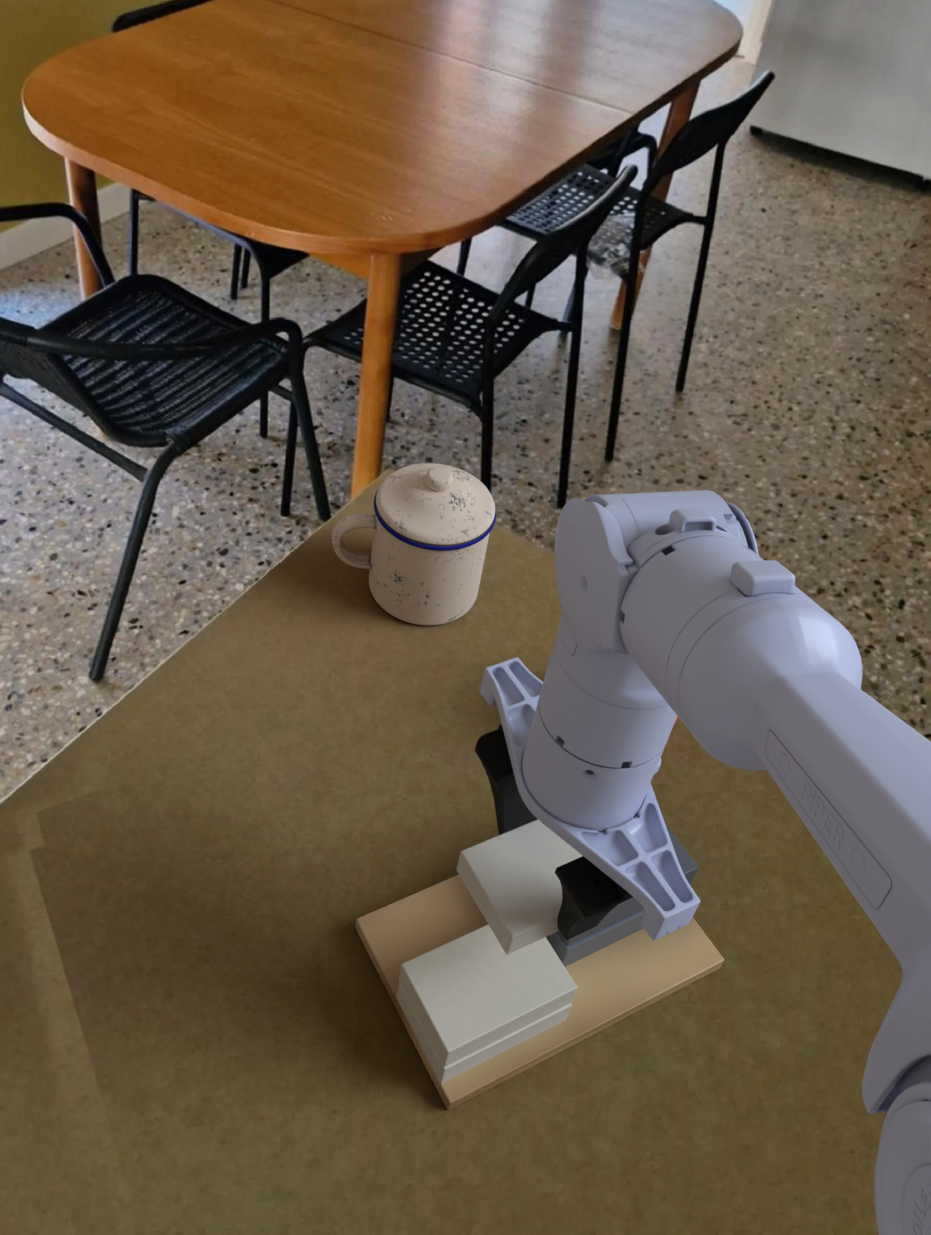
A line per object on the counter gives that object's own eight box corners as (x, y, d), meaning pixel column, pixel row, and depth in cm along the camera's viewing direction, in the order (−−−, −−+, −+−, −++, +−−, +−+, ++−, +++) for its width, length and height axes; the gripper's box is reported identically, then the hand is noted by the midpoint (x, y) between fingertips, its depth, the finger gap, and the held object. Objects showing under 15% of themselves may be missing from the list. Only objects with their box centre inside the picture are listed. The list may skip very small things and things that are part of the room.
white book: (637, 894, 57) (646, 876, 56) (506, 955, 54) (512, 937, 53) (582, 816, 61) (588, 797, 60) (455, 869, 58) (459, 850, 56)
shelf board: (720, 968, 65) (725, 959, 64) (447, 1111, 58) (449, 1103, 57) (608, 816, 72) (611, 807, 72) (354, 927, 65) (355, 918, 65)
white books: (566, 1020, 61) (579, 988, 59) (440, 1084, 58) (448, 1054, 56) (516, 938, 64) (526, 905, 62) (394, 995, 61) (401, 963, 59)
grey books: (683, 908, 67) (703, 869, 64) (560, 969, 63) (575, 930, 60) (623, 827, 71) (639, 786, 68) (503, 880, 67) (515, 839, 64)
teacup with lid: (472, 548, 91) (492, 436, 84) (488, 631, 84) (512, 517, 77) (326, 545, 90) (334, 432, 83) (330, 629, 83) (339, 513, 76)
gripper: (788, 816, 45) (699, 976, 54) (583, 579, 55) (535, 746, 64) (649, 880, 43) (579, 1038, 51) (460, 619, 52) (428, 788, 61)
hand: (547, 880), depth 57 cm, fingers closed on white book, 5 cm apart
